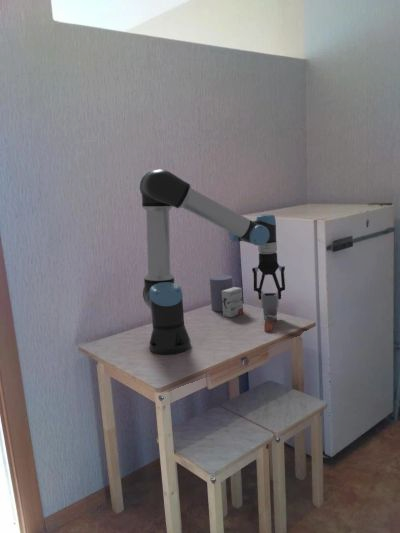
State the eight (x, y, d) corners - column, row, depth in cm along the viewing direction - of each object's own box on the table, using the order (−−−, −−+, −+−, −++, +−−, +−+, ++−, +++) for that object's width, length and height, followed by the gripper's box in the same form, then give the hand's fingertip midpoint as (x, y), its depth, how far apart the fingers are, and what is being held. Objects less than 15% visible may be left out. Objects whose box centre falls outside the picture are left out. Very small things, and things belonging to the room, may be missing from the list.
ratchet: (261, 331, 186) (260, 312, 184) (264, 318, 203) (263, 299, 201) (275, 331, 185) (274, 311, 183) (277, 317, 202) (276, 299, 200)
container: (207, 310, 221) (205, 278, 218) (220, 304, 229) (218, 274, 226) (224, 313, 215) (223, 280, 212) (238, 307, 222) (236, 276, 219)
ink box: (235, 311, 216) (234, 286, 213) (243, 313, 212) (242, 287, 210) (222, 316, 210) (220, 290, 208) (230, 318, 206) (228, 291, 204)
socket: (263, 314, 197) (262, 296, 196) (264, 311, 202) (263, 293, 201) (276, 314, 196) (276, 296, 195) (277, 311, 201) (276, 292, 200)
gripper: (244, 254, 193) (247, 309, 197) (290, 253, 189) (292, 309, 193) (246, 251, 200) (249, 304, 204) (290, 249, 196) (292, 304, 200)
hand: (270, 306), depth 199 cm, fingers closed on socket, 6 cm apart
